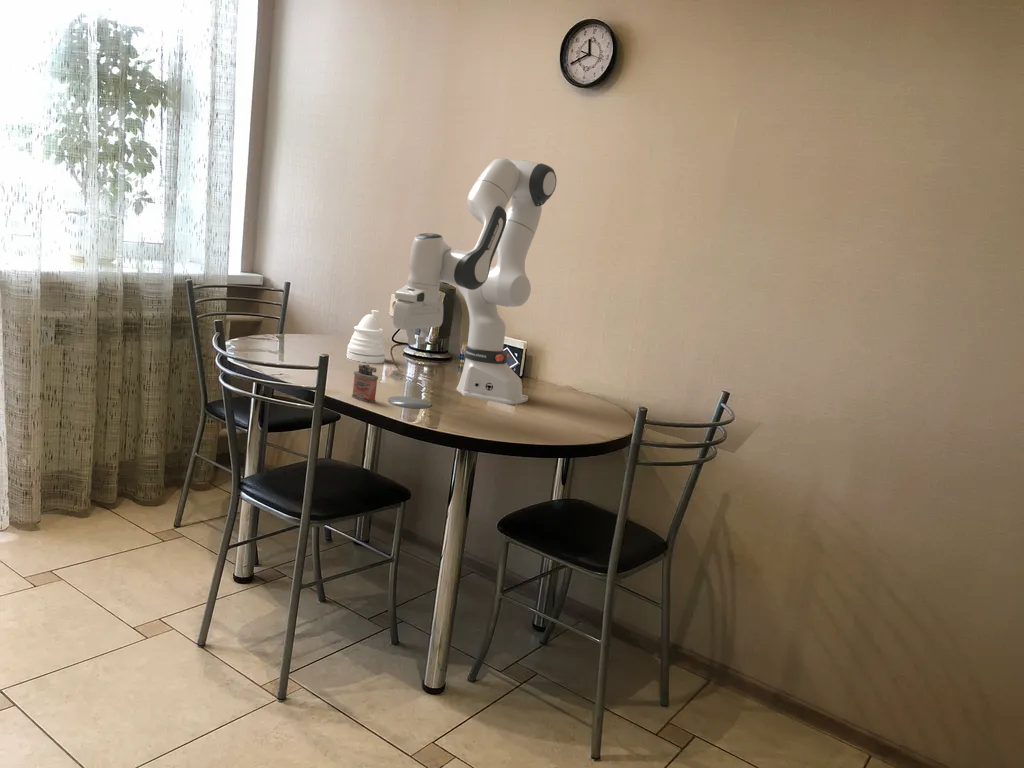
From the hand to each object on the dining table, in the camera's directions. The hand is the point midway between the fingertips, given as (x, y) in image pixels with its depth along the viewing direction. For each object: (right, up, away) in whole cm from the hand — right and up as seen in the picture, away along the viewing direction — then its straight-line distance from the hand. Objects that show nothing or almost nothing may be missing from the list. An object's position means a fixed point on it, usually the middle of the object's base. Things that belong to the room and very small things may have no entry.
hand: (416, 343), depth 218 cm
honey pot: (-24, -4, +56) cm, 61 cm away
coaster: (-2, -17, +3) cm, 17 cm away
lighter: (-15, -16, 0) cm, 21 cm away
